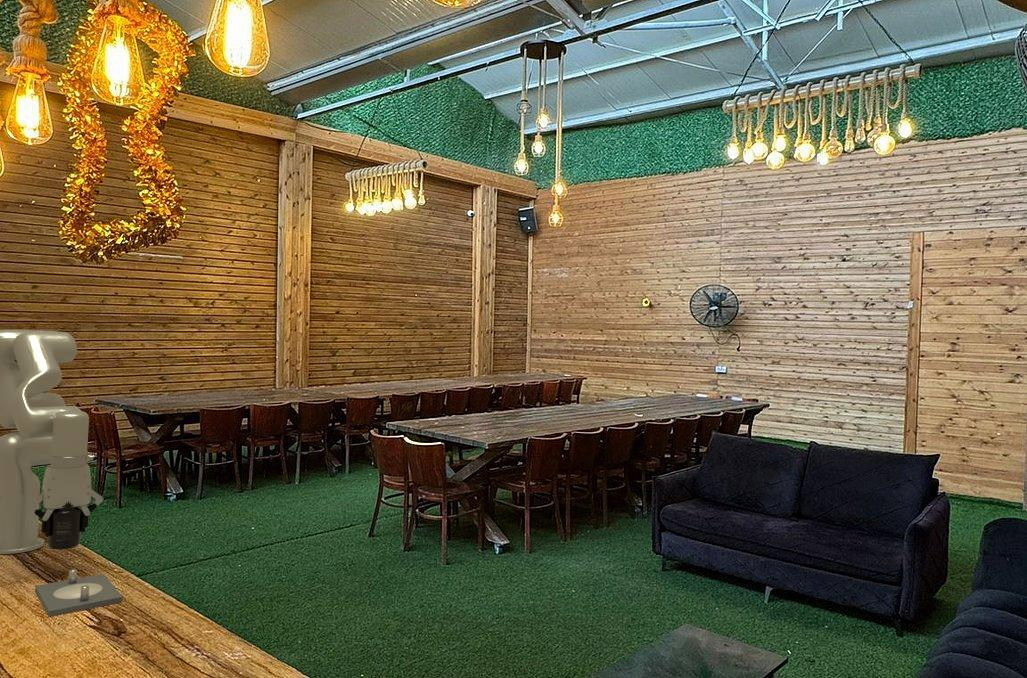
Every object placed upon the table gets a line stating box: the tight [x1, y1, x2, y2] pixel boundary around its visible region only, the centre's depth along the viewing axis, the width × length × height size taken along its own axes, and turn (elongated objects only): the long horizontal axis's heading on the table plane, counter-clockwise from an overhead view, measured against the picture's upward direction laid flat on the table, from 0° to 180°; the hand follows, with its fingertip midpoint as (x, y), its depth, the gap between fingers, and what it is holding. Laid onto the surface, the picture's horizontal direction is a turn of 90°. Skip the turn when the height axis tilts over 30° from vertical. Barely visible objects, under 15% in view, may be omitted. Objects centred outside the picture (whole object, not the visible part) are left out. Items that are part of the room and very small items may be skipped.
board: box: [34, 568, 123, 618], centre depth 161 cm, size 18×14×4 cm
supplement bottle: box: [47, 501, 82, 550], centre depth 173 cm, size 7×7×12 cm
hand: (64, 532), depth 173 cm, fingers closed on supplement bottle, 6 cm apart
